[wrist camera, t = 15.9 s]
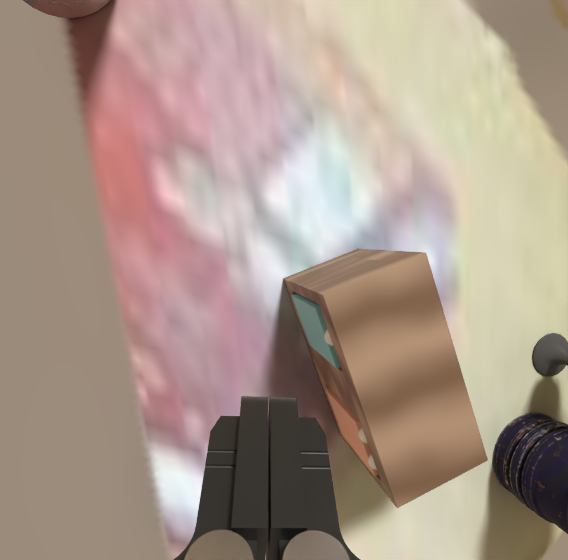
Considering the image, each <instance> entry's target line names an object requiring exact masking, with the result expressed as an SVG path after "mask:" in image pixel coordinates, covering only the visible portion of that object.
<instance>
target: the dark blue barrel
mask: <svg viewBox="0 0 568 560" xmlns="http://www.w3.org/2000/svg"><path fill="white" fill-rule="evenodd" d="M493 468H494V472H495V475H496V477H497V479H498V481H499V482H500V483H501V485H502V486H504V487H505V488H506V489H507V490H509V491H510V492H512V493H513V494H514V495H515V496H516V497H517V498H518V499H519V500H520V501H521V502H522V503H523V504H525V505H526V506H527V507H528V508H530V509H531V510H533V511H535V513H536V514H538V515H539V516H540V517H542V518H544V519H545V520H547V521H549V522H551V523H554V524H556V525H557V526H558V527H559V528H561V529H562V530H563V531H565V532H566V533H567V534H568V425H567V424H565V423H562V422H559V421H556V420H554V419H552V418H551V417H549V416H547V415H544V414H541V413H529V414H525V415H522V416H520V417H518V418H516V419H514V420H513V421H512V422H511V423H509V424H508V425H507V426H506V427H505V429H504V430H503V431H502V433H501V434H500V436H499V438H498V440H497V442H496V445H495V448H494V452H493Z"/></svg>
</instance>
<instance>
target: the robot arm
mask: <svg viewBox="0 0 568 560" xmlns="http://www.w3.org/2000/svg"><path fill="white" fill-rule="evenodd" d="M24 1H25V2H26V3H28V4H29V5H30V6H32V7H33V8H35V9H38V10H39V11H42V12H44V13H46V14H50V15H53V16H57V17H65V18H76V17H83V16H87V15H89V14H92V13H94V12H97V11H98V10H99V9H101V8H102V7H104V6H105V5H106V4H107V3H108V2H109V1H110V0H24ZM265 555H266V560H360V559H359V558H357V557H356V556H355V555H354V554H353V553H352V552H351V551H350V549H349V548H348V547H347V545H346V544H345V542H344V540H343V538H342V535H341V533H340V529H339V523H338V516H337V510H336V503H335V497H334V490H333V483H332V477H331V470H330V463H329V457H328V450H327V444H326V437H325V433H324V431H323V430H322V428H321V427H320V425H319V423H318V422H317V420H316V419H315V418H298V411H297V400H296V398H290V397H270V400H269V414H268V397H248V396H242V398H241V409H240V416H221V417H220V418H219V420H218V421H217V423H216V424H215V426H214V427H213V429H212V430H211V432H210V439H209V445H208V453H207V458H206V466H205V471H204V478H203V484H202V491H201V497H200V504H199V510H198V516H197V523H196V528H195V532H194V535H193V537H192V539H191V541H190V543H189V545H188V546H187V547H186V549H185V550H184V551H183V552H182V553H181V554H180V555H179V556H178V557H177V558H175V559H174V560H265Z"/></svg>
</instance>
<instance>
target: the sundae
mask: <svg viewBox="0 0 568 560" xmlns="http://www.w3.org/2000/svg"><path fill="white" fill-rule="evenodd" d="M533 362H534V366H535V368H536V369H537V371H538V372H539V373H541V374H542V375H545V376H553V375H556V374H558V373H560V372H561V371H562V370H563V369H564V367H565V366H566V365H568V342H567V341H566V339H565V338H564V337H563V336H561V335H560V334H556V333H552V334H548V335H545V336H544V337H543V338H541V339H540V340H539V342H538V343H537V345H536V346H535V349H534V352H533Z"/></svg>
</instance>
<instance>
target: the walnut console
mask: <svg viewBox="0 0 568 560" xmlns="http://www.w3.org/2000/svg"><path fill="white" fill-rule="evenodd" d="M284 282H285V284H286V287H287V290H288V293H289V295H290V298H291V301H292V304H293V306H294V309H295V312H296V315H297V317H298V320H299V323H300V326H301V328H302V331H303V334H304V337H305V339H306V342H307V345H308V348H309V350H310V353H311V356H312V359H313V361H314V364H315V367H316V370H317V373H318V375H319V378H320V381H321V384H322V386H323V389H324V392H325V395H326V397H327V400H328V403H329V406H330V408H331V411H332V414H333V417H334V419H335V422H336V425H337V428H338V430H339V433H340V435H341V436H342V437H343V435H342V433H341V431H340V428H339V425H338V422H337V420H336V417H335V414H334V411H333V409H332V406H331V403H330V400H329V398H328V395H327V392H326V389H327V388H330V389H331V390H332V391H333V392H334V393H335V394H336V395H337V396H338V398H339V399H340V400H341V401H342V402H343V403H344V404H345V405H346V406H347V407H348V408H349V409H350V410H351V411H352V412H353V413H354V414H355V416H356V417H357V418H358V419H359V420H360V423H361V426H362V428H363V431H364V434H365V437H366V440H367V443H368V446H369V448H370V451H371V454H372V457H373V460H374V463H375V465H376V468H377V471H378V474H379V475H377V476H374V475H373V474H372V472H371V471H370V470H369V469H368V467H367V466H366V465H365V464H364V462H363V461H362V460H361V458H360V457H359V456H358V455H357V453H356V452H355V451H354V449H353V448H352V447H351V446H350V444H349V443H348V442H347V441H346V439H345V438H344V437H343V439H344V440H345V441H346V443H347V444H348V445H349V446H350V448H351V449H352V450H353V452H354V453H355V454H356V455H357V457H358V458H359V459H360V461H361V462H362V463H363V464H364V466H365V467H366V468H367V470H368V471H369V472H370V474H371V475H372V476H373V477H374V479H375V480H376V481H377V483H378V484H379V485H380V486H381V488H382V489H383V490H384V492H385V493H386V494H387V495H388V497H389V498H390V499H391V501H392V502H393V503H394V505H395V506H396V507H397V508H399V507H400V506H402V505H404V504H406V503H408V502H410V501H412V500H414V499H416V498H417V497H419V496H421V495H423V494H425V493H427V492H429V491H431V490H433V489H434V488H436V487H438V486H440V485H442V484H444V483H446V482H448V481H450V480H451V479H453V478H455V477H457V476H459V475H461V474H463V473H465V472H467V471H468V470H470V469H472V468H474V467H476V466H478V465H480V464H482V463H484V462H485V461H487V456H486V453H485V450H484V446H483V443H482V439H481V436H480V433H479V429H478V426H477V423H476V419H475V416H474V413H473V409H472V406H471V403H470V399H469V396H468V392H467V389H466V386H465V382H464V379H463V376H462V372H461V369H460V366H459V362H458V359H457V355H456V352H455V349H454V345H453V342H452V339H451V335H450V332H449V329H448V325H447V322H446V319H445V315H444V312H443V308H442V305H441V302H440V298H439V295H438V292H437V288H436V285H435V282H434V278H433V275H432V272H431V268H430V265H429V261H428V258H427V255H426V253H421V252H403V251H385V250H367V249H357V250H354V251H352V252H349V253H347V254H344V255H342V256H339V257H337V258H334V259H332V260H329V261H327V262H324V263H321V264H319V265H316V266H314V267H311V268H309V269H306V270H304V271H301V272H299V273H296V274H294V275H291V276H289V277H286V278H284ZM294 294H299V295H301V296H303V297H305V298H307V299H309V300H311V301H313V302H315V303H317V304H319V306H320V309H321V312H322V315H323V318H324V320H325V323H326V326H327V329H328V332H329V335H330V337H331V340H332V343H333V346H334V349H335V352H336V355H337V357H338V360H339V363H340V366H341V367H339V368H335V367H334V366H333V365H332V364H331V363H330V362H329V361H327V360H326V359H325V358H324V357H323V356H322V355H321V354H319V353H318V352H317V351H316V350H315V349H314V348H313V347H311V346H310V345H309V342H308V339H307V336H306V334H305V331H304V328H303V325H302V323H301V320H300V317H299V314H298V312H297V309H296V306H295V303H294V301H293V298H292V295H294Z"/></svg>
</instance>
